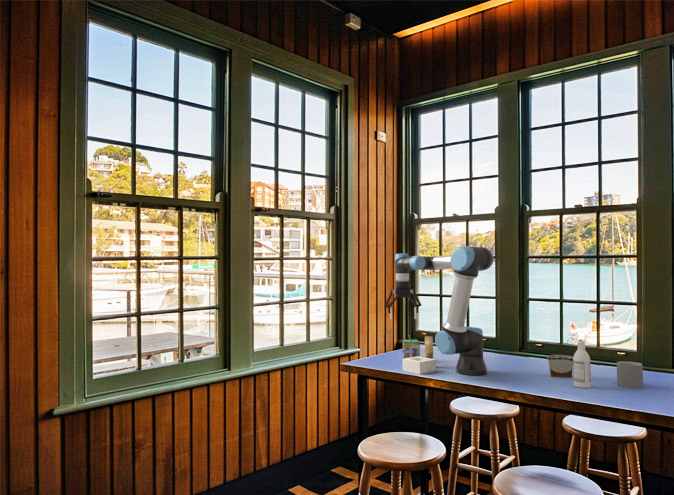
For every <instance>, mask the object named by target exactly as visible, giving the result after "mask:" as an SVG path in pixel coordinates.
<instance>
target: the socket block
mask: <svg viewBox="0 0 674 495" xmlns="http://www.w3.org/2000/svg"><path fill="white" fill-rule="evenodd" d="M402 371H403V372H408V373H413V374H416V375H423V374H428V373H434V372H437V360H436V358H433V359H430V358H425V356H424V357H423V356H420V357H419V356H418V357H411V358H404V359H403V358H402Z"/></svg>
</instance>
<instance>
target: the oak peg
mask: <svg viewBox="0 0 674 495" xmlns="http://www.w3.org/2000/svg"><path fill="white" fill-rule="evenodd" d="M424 357H425V358H430V359H434V336H431V335H430V336H424Z"/></svg>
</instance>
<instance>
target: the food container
mask: <svg viewBox="0 0 674 495" xmlns="http://www.w3.org/2000/svg"><path fill="white" fill-rule="evenodd" d="M573 357H574V356H571V355H564V354H550V355H548V356H547V361H548V366H549V373H550V378H560V379H561V378H562V379H573Z"/></svg>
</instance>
